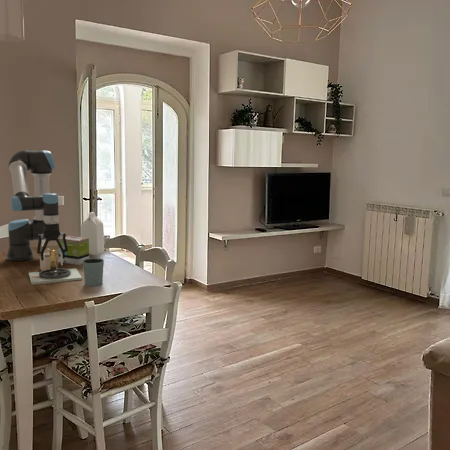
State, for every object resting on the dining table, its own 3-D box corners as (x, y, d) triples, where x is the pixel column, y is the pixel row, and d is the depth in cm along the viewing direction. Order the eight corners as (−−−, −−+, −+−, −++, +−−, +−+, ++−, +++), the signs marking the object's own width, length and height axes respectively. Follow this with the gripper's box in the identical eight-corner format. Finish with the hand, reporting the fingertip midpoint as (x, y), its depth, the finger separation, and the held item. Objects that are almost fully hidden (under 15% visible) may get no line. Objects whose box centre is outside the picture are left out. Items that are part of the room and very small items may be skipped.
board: (28, 274, 247) (28, 272, 247) (76, 270, 258) (75, 268, 258) (31, 284, 230) (31, 282, 229) (82, 279, 240) (82, 277, 240)
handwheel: (72, 276, 240) (71, 255, 238) (40, 279, 234) (39, 257, 232) (67, 269, 254) (67, 248, 253) (37, 271, 248) (36, 251, 246)
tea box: (58, 262, 275) (57, 238, 272) (69, 259, 284) (68, 235, 282) (78, 265, 269) (78, 240, 267) (90, 261, 278) (89, 237, 276)
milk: (88, 250, 310) (87, 211, 306) (104, 250, 309) (104, 211, 304) (80, 254, 298) (78, 213, 294) (97, 254, 297) (96, 214, 293)
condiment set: (56, 270, 257) (56, 250, 255) (39, 271, 254) (38, 250, 252) (58, 265, 268) (57, 245, 266) (41, 266, 266) (40, 246, 264)
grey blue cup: (96, 280, 240) (95, 257, 238) (108, 283, 234) (108, 260, 232) (79, 284, 232) (78, 260, 230) (91, 288, 226) (90, 263, 224)
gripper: (30, 225, 238) (32, 268, 241) (73, 223, 247) (74, 265, 250) (29, 222, 244) (31, 265, 248) (71, 221, 254) (72, 262, 257)
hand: (53, 265), depth 249 cm, fingers open, 8 cm apart
